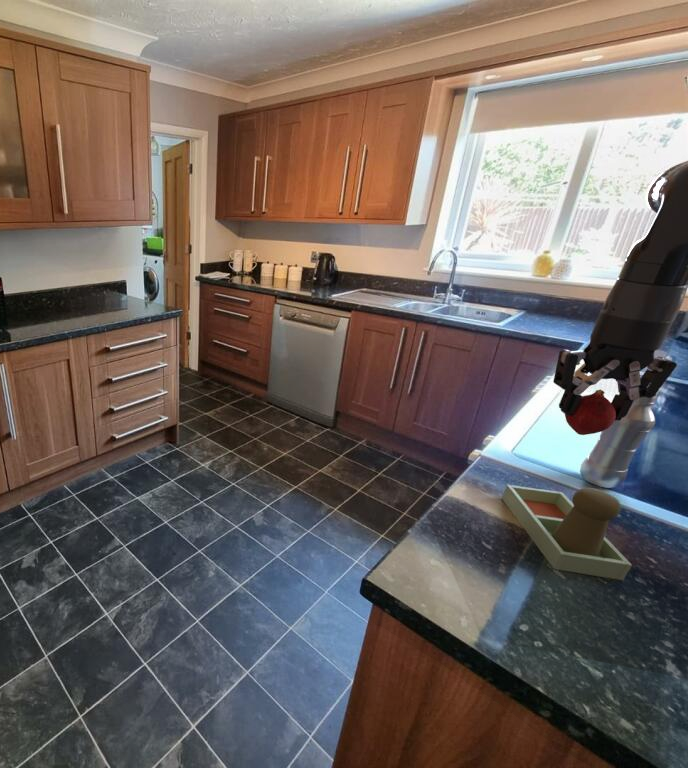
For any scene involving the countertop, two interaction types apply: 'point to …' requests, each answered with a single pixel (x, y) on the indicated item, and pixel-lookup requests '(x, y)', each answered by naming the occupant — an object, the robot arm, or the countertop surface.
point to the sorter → (541, 520)
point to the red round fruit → (592, 414)
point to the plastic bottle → (619, 445)
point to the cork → (586, 522)
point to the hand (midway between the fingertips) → (589, 415)
